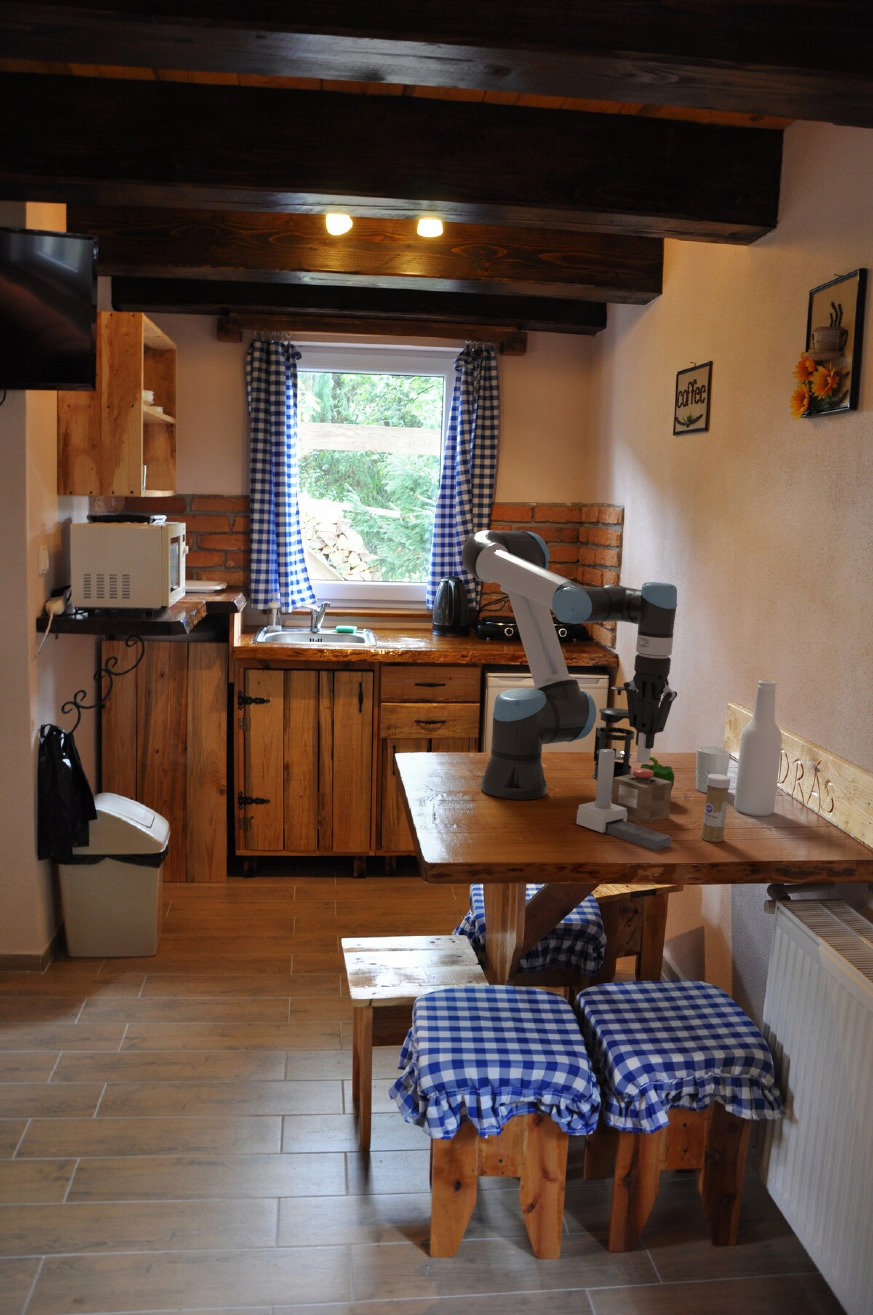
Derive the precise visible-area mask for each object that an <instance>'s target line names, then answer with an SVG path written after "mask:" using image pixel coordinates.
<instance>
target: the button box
mask: <svg viewBox="0 0 873 1315" xmlns="http://www.w3.org/2000/svg"><path fill="white" fill-rule="evenodd" d="M671 788H672V789H673V787H672V782H670V781H667V780H663V779H660V778H657V777H652V778H650V783H646V784H643V783H640V782H636V781H635V776H634V775H633V773H631V774H629V775H624V776H620V777H615V778H613V784H612V796H611V803H612V804H615V805H618V806H621V807H624V808H627V810H626V812H627V820H629V819H630V820H629V821H632V822H635V821H637V822H636V823H638V822H640V823H639V824H641V823H642V824H641V825H645V824H649V823H651V822H650V821H653V822H656V820H657V821H659V819H661V820H663V819H662V818H664V819H667V818H669V817H670V809H671V796H672V791H671ZM648 822H649V823H648Z"/></svg>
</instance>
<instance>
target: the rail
mask: <svg viewBox="0 0 873 1315" xmlns="http://www.w3.org/2000/svg"><path fill="white" fill-rule="evenodd" d="M603 833H604V834H607V835H609V834H610V836H612V837H615V838H618V839H621V840H624V841H626V842H629V843H632V844H635V845H639V846H641V847H643V848H646V849H649V850H652V851H655V852H656V851H659V850H663V849H667V848H670V847H671V846H672V838H673V837H672V836H671V835H667V834H665V833H661V832H660V831H659V832H658V831H655V830H653V829H649V828H647V827H644V826H641V825H638V824H635V823H633V822H629V821H627V822H626V821H623V820H620V819H618V820H614V821H610V822H606V828H605V832H603Z"/></svg>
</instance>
